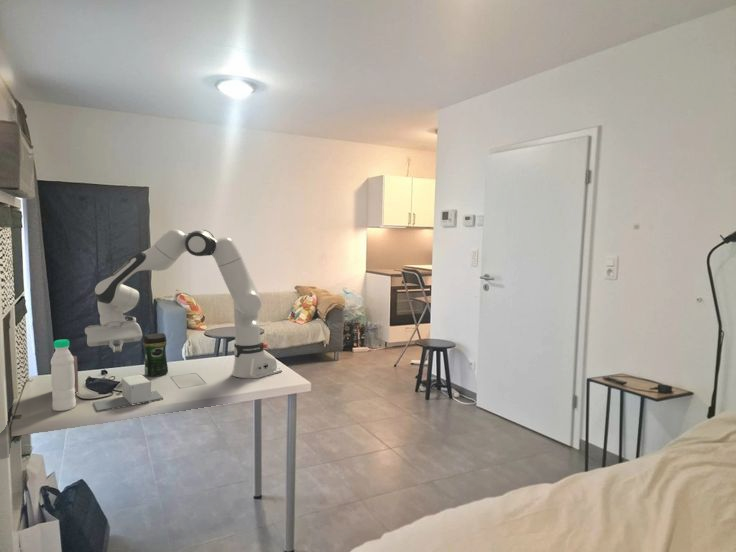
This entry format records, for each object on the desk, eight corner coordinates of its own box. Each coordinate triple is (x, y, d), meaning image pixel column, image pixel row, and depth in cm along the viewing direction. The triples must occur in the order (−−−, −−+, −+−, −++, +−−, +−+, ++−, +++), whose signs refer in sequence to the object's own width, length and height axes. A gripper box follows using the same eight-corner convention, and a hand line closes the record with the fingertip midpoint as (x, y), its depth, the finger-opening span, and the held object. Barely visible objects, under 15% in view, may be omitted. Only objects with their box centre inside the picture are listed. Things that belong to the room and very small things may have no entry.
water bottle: (47, 411, 166) (44, 341, 164) (63, 404, 173) (60, 337, 171) (65, 412, 165) (62, 342, 163) (80, 405, 172) (77, 338, 170)
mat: (156, 392, 187) (156, 390, 187) (163, 399, 179) (163, 397, 179) (93, 403, 174) (93, 402, 174) (97, 411, 166) (97, 410, 166)
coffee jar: (165, 370, 217) (164, 331, 216) (169, 374, 211) (168, 334, 209) (142, 373, 212) (141, 333, 210) (146, 378, 205) (144, 336, 204)
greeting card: (52, 391, 187) (50, 354, 186) (73, 387, 192) (72, 351, 191) (57, 398, 179) (55, 360, 177) (79, 394, 184) (78, 357, 182)
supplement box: (121, 396, 181) (130, 404, 171) (121, 377, 180) (129, 385, 171) (142, 392, 186) (151, 400, 176) (141, 374, 185) (151, 381, 175)
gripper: (84, 321, 189) (88, 350, 182) (139, 317, 201) (145, 343, 195) (83, 330, 193) (87, 359, 186) (137, 325, 205) (143, 351, 198)
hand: (117, 351), depth 190 cm, fingers closed
